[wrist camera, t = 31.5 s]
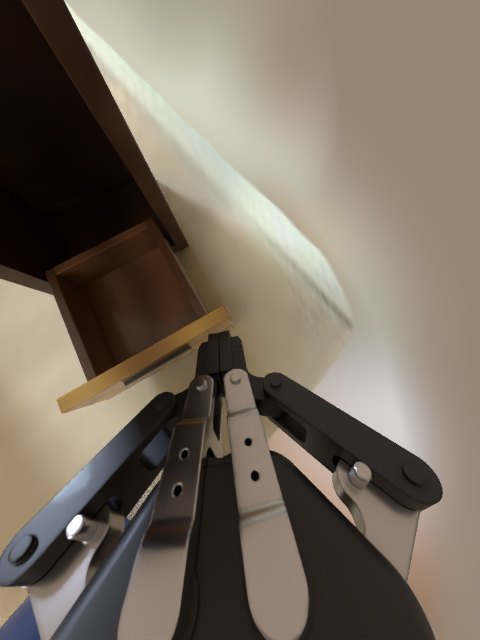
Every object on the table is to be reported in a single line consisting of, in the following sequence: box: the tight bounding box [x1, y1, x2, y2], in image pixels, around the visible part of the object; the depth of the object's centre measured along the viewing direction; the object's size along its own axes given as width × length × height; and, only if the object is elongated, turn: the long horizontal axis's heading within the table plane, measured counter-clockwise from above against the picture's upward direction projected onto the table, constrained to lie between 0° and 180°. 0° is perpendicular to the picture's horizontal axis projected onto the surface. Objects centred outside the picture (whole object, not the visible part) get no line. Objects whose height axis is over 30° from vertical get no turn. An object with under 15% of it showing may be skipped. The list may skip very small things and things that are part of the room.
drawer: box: [45, 218, 233, 414], centre depth 15 cm, size 12×11×4 cm
